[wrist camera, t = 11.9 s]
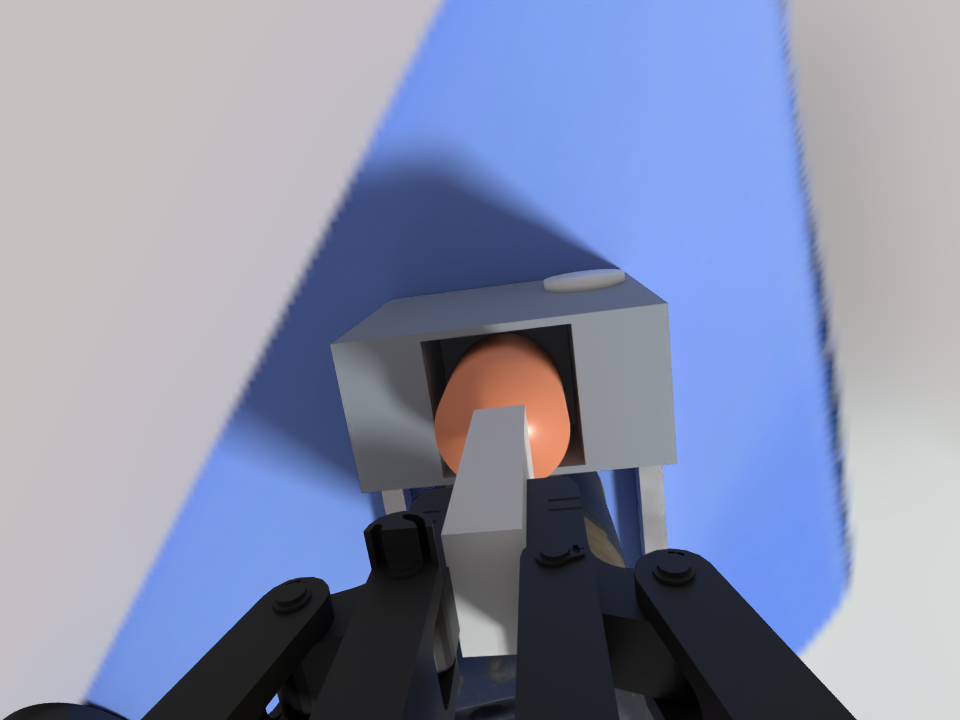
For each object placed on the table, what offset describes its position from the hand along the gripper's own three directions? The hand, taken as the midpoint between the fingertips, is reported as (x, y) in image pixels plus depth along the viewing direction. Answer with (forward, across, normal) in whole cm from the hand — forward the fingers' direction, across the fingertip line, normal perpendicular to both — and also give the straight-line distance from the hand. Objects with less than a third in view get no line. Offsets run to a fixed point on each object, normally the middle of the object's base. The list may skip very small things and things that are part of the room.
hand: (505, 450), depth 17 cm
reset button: (+6, 0, 0) cm, 6 cm away
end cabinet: (+14, 0, 0) cm, 14 cm away
